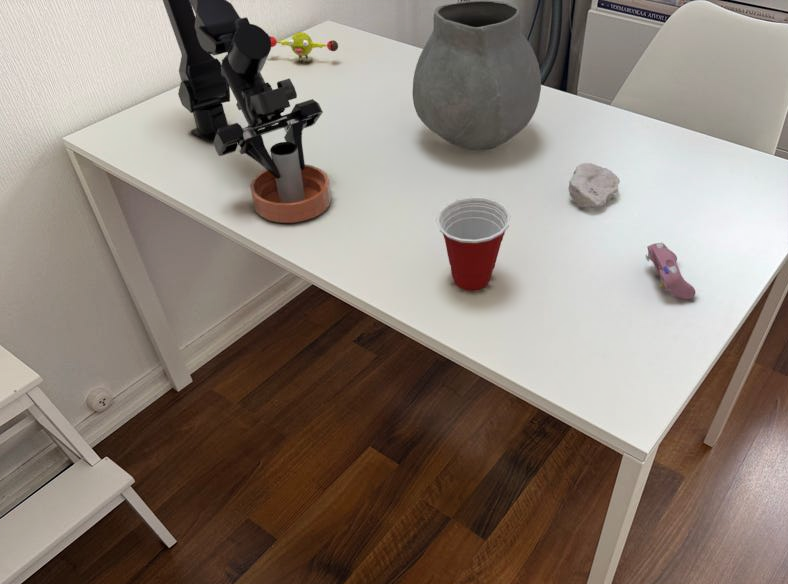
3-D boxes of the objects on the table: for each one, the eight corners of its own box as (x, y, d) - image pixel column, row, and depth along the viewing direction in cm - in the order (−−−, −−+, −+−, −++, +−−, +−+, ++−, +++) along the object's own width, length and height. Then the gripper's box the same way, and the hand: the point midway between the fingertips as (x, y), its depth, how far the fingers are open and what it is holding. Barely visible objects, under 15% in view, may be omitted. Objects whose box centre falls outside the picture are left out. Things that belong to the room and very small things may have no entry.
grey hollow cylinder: (300, 209, 118) (291, 156, 111) (276, 206, 119) (266, 153, 112) (308, 195, 122) (300, 143, 114) (285, 192, 122) (275, 140, 115)
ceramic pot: (496, 103, 148) (506, -22, 130) (556, 153, 133) (576, 20, 115) (395, 125, 141) (390, -3, 123) (446, 181, 126) (449, 43, 108)
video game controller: (649, 270, 110) (638, 240, 105) (676, 259, 108) (667, 227, 104) (668, 310, 103) (658, 280, 98) (698, 299, 102) (689, 267, 97)
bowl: (238, 207, 120) (234, 187, 117) (292, 175, 127) (289, 155, 124) (293, 234, 114) (289, 214, 111) (346, 198, 122) (344, 179, 119)
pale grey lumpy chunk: (627, 175, 122) (616, 180, 113) (613, 209, 125) (601, 216, 116) (582, 159, 124) (568, 162, 116) (570, 193, 127) (555, 199, 119)
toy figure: (264, 64, 163) (259, 35, 158) (272, 55, 167) (267, 26, 162) (336, 69, 161) (333, 39, 156) (342, 59, 165) (339, 31, 160)
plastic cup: (425, 268, 107) (424, 204, 99) (485, 252, 110) (489, 189, 102) (453, 310, 101) (455, 245, 92) (516, 291, 104) (524, 227, 95)
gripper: (203, 80, 102) (251, 175, 104) (310, 50, 110) (352, 139, 112) (195, 111, 112) (238, 197, 114) (293, 82, 120) (332, 162, 122)
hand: (291, 173), depth 115 cm, fingers closed on grey hollow cylinder, 4 cm apart
